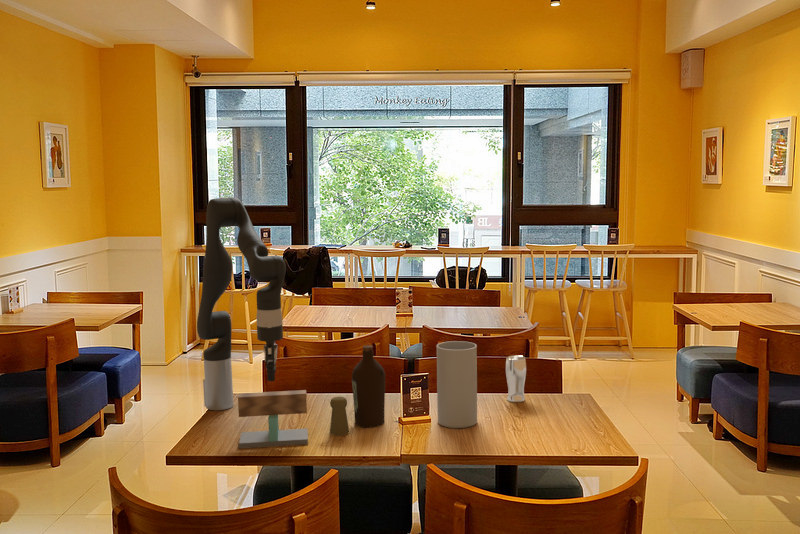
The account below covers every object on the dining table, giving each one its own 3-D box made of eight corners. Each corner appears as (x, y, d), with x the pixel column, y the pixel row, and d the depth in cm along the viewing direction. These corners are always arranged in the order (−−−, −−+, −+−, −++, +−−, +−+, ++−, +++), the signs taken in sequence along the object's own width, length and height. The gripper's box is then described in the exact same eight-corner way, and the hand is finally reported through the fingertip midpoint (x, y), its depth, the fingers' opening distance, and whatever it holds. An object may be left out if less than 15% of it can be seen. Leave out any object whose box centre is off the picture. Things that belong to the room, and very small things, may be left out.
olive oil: (386, 417, 258) (384, 342, 254) (386, 427, 247) (384, 349, 244) (353, 418, 257) (351, 343, 254) (352, 428, 247) (350, 350, 244)
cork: (334, 436, 240) (333, 401, 239) (326, 430, 245) (325, 396, 244) (352, 433, 243) (351, 398, 241) (344, 427, 248) (343, 393, 247)
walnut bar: (238, 417, 233) (237, 397, 232) (239, 413, 237) (238, 393, 236) (306, 413, 236) (306, 393, 235) (306, 409, 240) (306, 389, 239)
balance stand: (239, 448, 231) (237, 420, 230) (241, 437, 241) (240, 410, 240) (307, 444, 234) (306, 416, 233) (307, 433, 244) (306, 406, 242)
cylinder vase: (450, 414, 259) (450, 339, 256) (484, 420, 252) (483, 344, 249) (430, 424, 249) (428, 347, 246) (464, 431, 242) (463, 351, 239)
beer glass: (529, 398, 275) (529, 356, 273) (521, 403, 269) (521, 360, 267) (510, 396, 279) (510, 354, 277) (502, 401, 273) (502, 358, 271)
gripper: (258, 319, 239) (260, 371, 242) (255, 328, 225) (257, 384, 228) (283, 318, 240) (284, 370, 242) (281, 327, 226) (283, 382, 228)
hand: (271, 377), depth 235 cm, fingers open, 8 cm apart
